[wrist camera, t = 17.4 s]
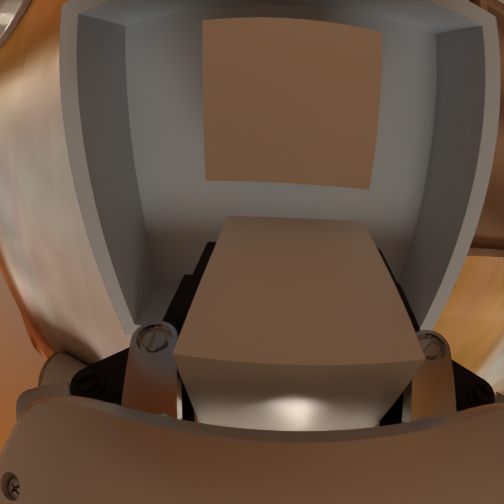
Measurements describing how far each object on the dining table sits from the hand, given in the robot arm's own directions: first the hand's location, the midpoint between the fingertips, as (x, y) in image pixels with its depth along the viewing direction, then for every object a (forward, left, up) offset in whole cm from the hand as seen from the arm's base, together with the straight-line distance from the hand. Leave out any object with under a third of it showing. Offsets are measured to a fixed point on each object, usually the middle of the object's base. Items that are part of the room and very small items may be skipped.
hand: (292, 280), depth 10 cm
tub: (-3, 0, -6) cm, 7 cm away
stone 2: (0, 0, 0) cm, 0 cm away
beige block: (-6, 0, -5) cm, 8 cm away
